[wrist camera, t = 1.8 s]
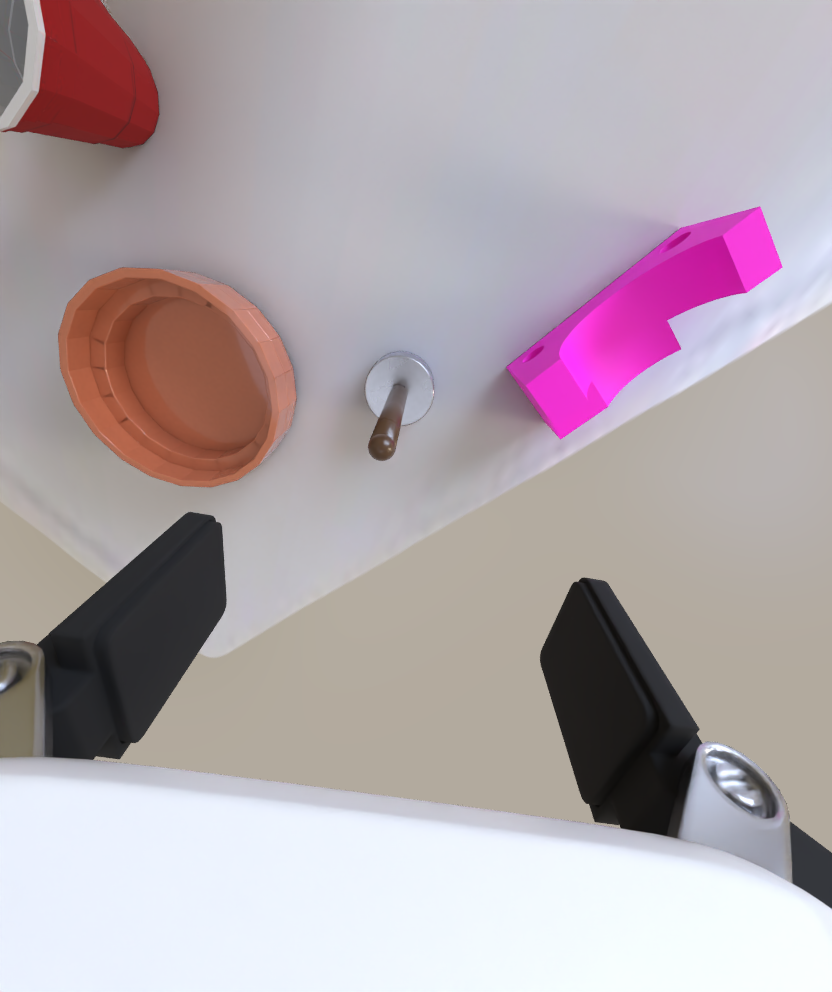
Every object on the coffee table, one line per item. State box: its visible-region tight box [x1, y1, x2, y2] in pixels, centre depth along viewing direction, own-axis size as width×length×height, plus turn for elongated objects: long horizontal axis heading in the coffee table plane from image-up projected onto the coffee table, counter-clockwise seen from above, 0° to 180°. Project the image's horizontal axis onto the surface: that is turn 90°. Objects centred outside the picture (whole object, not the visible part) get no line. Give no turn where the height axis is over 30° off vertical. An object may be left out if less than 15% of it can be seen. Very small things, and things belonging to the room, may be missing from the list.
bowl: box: [58, 267, 297, 487], centre depth 32 cm, size 16×16×5 cm
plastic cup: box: [0, 0, 159, 148], centre depth 20 cm, size 11×11×12 cm
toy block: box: [506, 207, 782, 439], centre depth 28 cm, size 15×6×8 cm, turn 130°
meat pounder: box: [365, 351, 434, 461], centre depth 26 cm, size 6×6×16 cm
